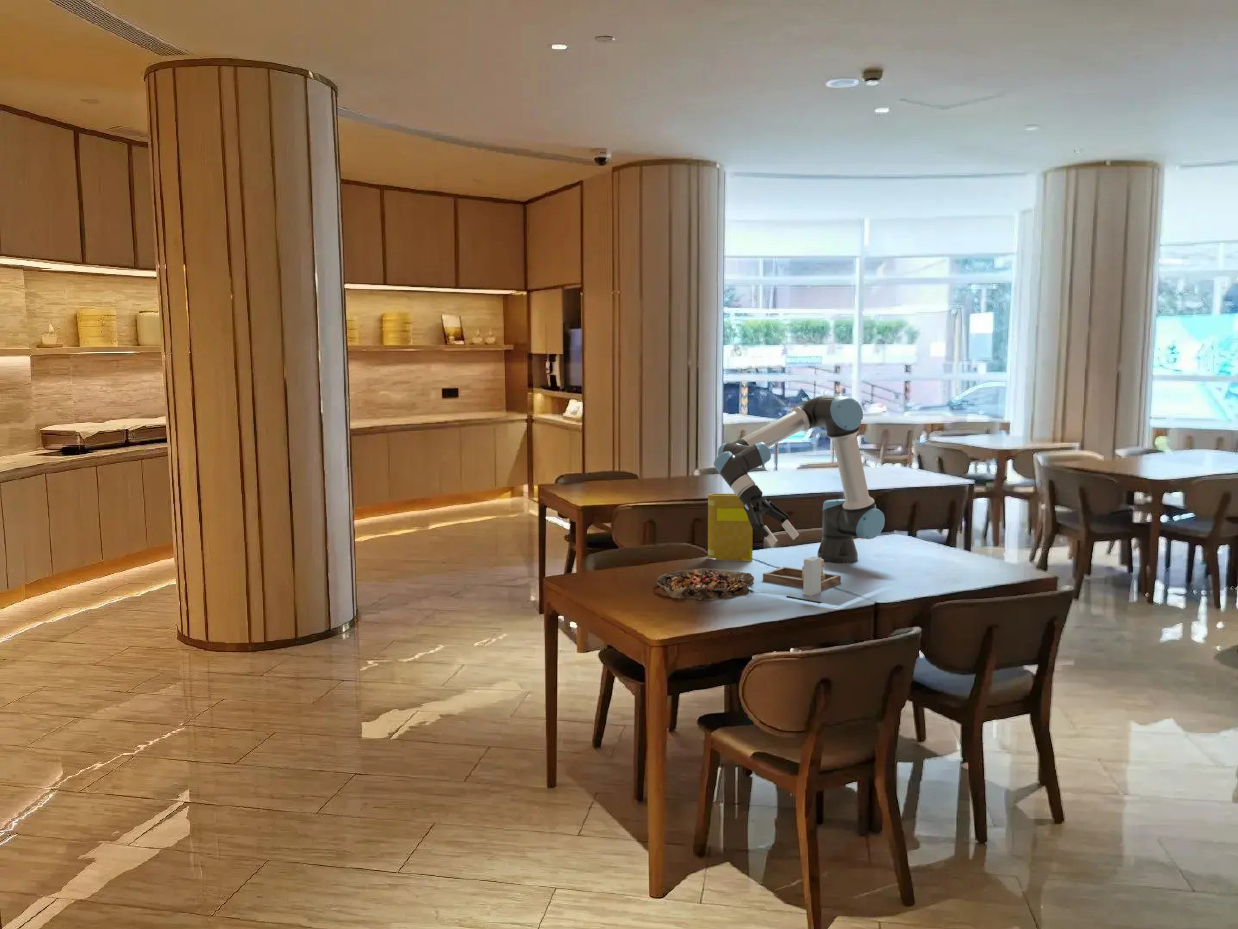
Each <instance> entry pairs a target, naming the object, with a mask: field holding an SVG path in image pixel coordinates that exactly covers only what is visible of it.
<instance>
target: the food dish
mask: <svg viewBox="0 0 1238 929" xmlns="http://www.w3.org/2000/svg"><path fill="white" fill-rule="evenodd" d="M655 581H656V584H657V585H658V586H659V587H661V589H662V590H664V591H665V592H666V593H667V595H668V596H669V597H670V598H674V599H688V600H689V599H691V600H698V601H701V600H702V601H703V600H704V601H706V600H709V601H710V600H711V601H715V600H717V601H718V600H728V599H734V598H736V597H737V596H746V595H749V593H750V592H751V590H750V588H749V587H750V586H751V585H752V586H753V585H754V581H755V577H754V576H753V575H752V573H750V572H745V571H744V572H743V571H737V570H729V569H721V568H705V567H704V568H703V567H702V568H692V569H685V570H677V571H672V572H668V573H665V574H662V575H660V576H658V577H657V579H656V580H655Z"/></svg>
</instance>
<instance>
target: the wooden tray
mask: <svg viewBox="0 0 1238 929" xmlns="http://www.w3.org/2000/svg"><path fill="white" fill-rule="evenodd" d="M823 575H825V580H823V581H821V591H823V590H825V589H828V588H830V587H832V586H835V585H839V584H841V583H842V581H841V580H842V579H841V578H842V577H841V575H839V574H833V573H827V572H823ZM762 581H764V582H770V583H773V584H774V583H775V584H781V585H785V586H786V585H787V586H792V587H797V588H803V584H804V579H802V568H801V569H800V568H796V567H790V566H789V567H788V566H782V567H780V568H776V569H773V570H770V571H767V572H764V573H763V574H762Z"/></svg>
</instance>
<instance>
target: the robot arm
mask: <svg viewBox="0 0 1238 929" xmlns="http://www.w3.org/2000/svg"><path fill="white" fill-rule="evenodd" d="M862 408H863V407H862V406H861V404H860V403H859V402H858V400H856V399H855V398H852V397H850V396H849V397H848V396H844V395H841V396H840V395H839V396H837V395H820V396H816V397H813V398H811V399H808V400H807V401H805V402H802V403H800V404H799V405H797V406H795V407H794V408H792V410H791V412H789V413H787V414H785V415H783V416H781V417H780V418H778V419H776V420H774V421H772V422H770V423H768V424H766V425H764V426H762V427H761V428H758V429H757V430H755V431H753V432H750V433H749V434H747V435H745V436H743V437H742V438H740V439H739V438H738V439H737V440H734V441H733V442H724V443H722V444H721V445H720V446H719V447H718V450H717V457H716V458H715V460H714V462H713V466H714V468H715V470H716V471H717V473H718V474H719V475H720V476H721V477H722V479H723V480H724V482H726V484H727V485H728V487H729V488H730V489H731V490H732V492H733V494H736V495H737V496H738V497H739V499H740V501H741V502H742V503H743V504H744V507H743V508H744V510H745V511H746V513H747V516H748V518H749V521H750V524H751V526H752V528H753V530H754V531H755V532H756V533H758V531H759V532H760V533H761V535H762V536H763V537H764V538H765V540H766V541H767V542H768V544H769V545H770V546H771V547H773V546H774V545H775V544H776V543H777V542H778V541H779V540H778V539H777V537H776V536H775V535H774V534H773V532H771V529H769V527H768V526H767V525H764V519H763V518H764V517H763V515H766V516H769V517H771V518H773V519H774V520H776V521H778V522H779V523H780V524H781V526H782V528H783V529H784V531H786V533H787V534H788V535H789V537H790V538H791V539H792V541H793V540H795V539H796V538H797V537H799V535H800V533H799V532H798V531H797V529H795V526H794V525H792V524H791V522H790V521H789V519H790V514H788V513H787V512H785V510H783V509H782V508H781V507H779V506H778V505H777V504H776V503H774V501H773V500H772V499H771V498H770V497H767V498H765V499H764V498H763V497H762V496H763V491H762V490H761V489H760V487H759V486H758V485H757V484H756V482H755V481H754V479H752V477H751V476H750V475H749V473H750V472H751V471H753V470H754V471H755V470H756V469H758V468H759V467H761V466H764V465H765V464H767V463H768V462H769V461H770V460H771V458H772V454H771V450H770V447H772V446H774V445H776V444H778V443H779V442H782V441H784V440H786V439H788V438H789V437H791V436H792V435H795V434H797V433H799V432H801V431H802V432H807V431H809V430H811V429H813V428H825V432H826V435H827V437H828V438H829V439H830V440H832V443H833V447H834V452H835V458H836V462H837V466H838V471H839V472H838V473H839V476H840V481H841V485H842V489H843V493H844V494H843V495H844V498H839V499H827V500H824V502H823V503H822V504H823V505H822V536H821V537H822V538H821V542H820V544H819V548H818V550H817V556H816V557H820V558H821V559H824V562H829V563H852V562H856V561H858V560H859V558H858V557H859V554H858V550H857V546H856V544H855V540H854V537H856V538H859V539H861V540H873V539H875V538H876V537H878V536H879V535H880V534H881V533H882V531H883V529H884V528H885V521H886V520H885V514H884V512H883V511H881V509H879V508H877V507H876V503H875V502H876V501H875V499H874V498H873V497H871V496H870V495H869V494H870V493H869V489H868V484H867V480H866V475H865V474H866V473H865V470H864V466H863V461H862V456H861V452H860V446H859V441H858V436H857V435H858V434H859V432H860V426H861V424H862V421H863V418H864V412H863V409H862Z"/></svg>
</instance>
